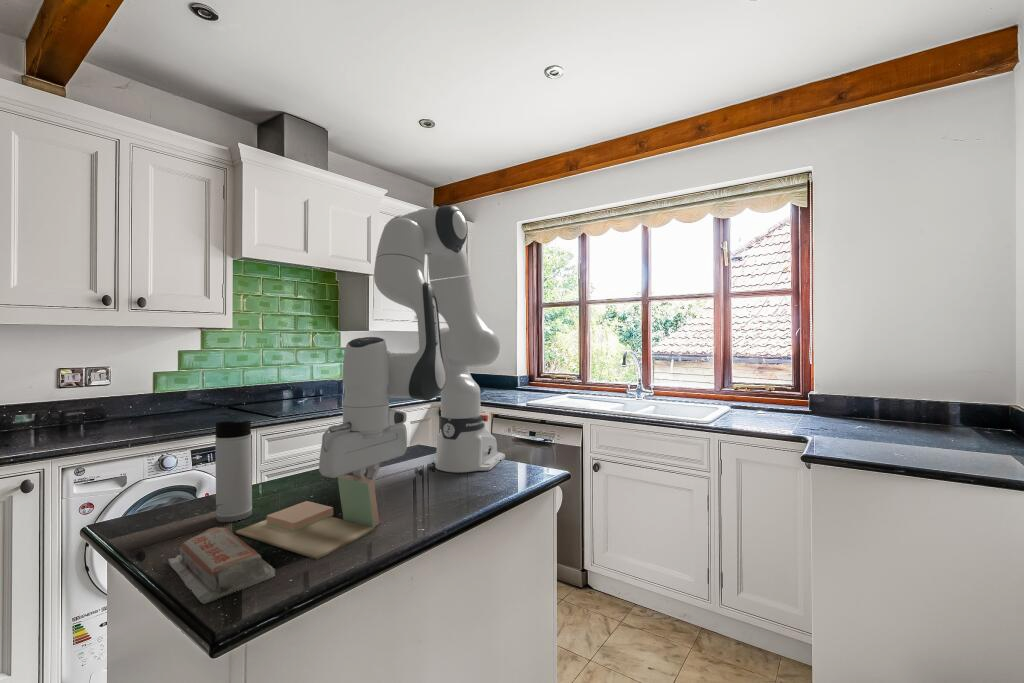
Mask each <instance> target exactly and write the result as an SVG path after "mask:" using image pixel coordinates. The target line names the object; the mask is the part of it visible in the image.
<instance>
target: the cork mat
mask: <svg viewBox="0 0 1024 683" xmlns="http://www.w3.org/2000/svg"><path fill="white" fill-rule="evenodd" d="M375 529H376V527H374V528H373V527H369V526H365V525H361V524H357V523H353V522H349V521H345V520H343V519H341V518H337V517H334V516H330V517H328V518H326V519H323V520H321V521H319V522H316V523H314V524H311V525H309V526H307V527H304V528H302V529H300V530H297V531H295V532H293V531H289V530H286V529H283V528H279V527H276V526H272V525H269V524H267V519H264V520H261V521H259V522H256V523H253V524H251V525H248V526H245V527H243V528H240V529H238V530H236V531H235V534H237V535H241V536H244V537H247V538H250V539H253V540H255V541H259V542H262V543H265V544H267V545H271V546H274V547H277V548H280V549H283V550H286V551H290V552H292V553H295V554H298V555H299V554H300V555H302V556H305V557H308V558H310V559H314V558H315V559H314V560H318V559H320V558H323V557H324V556H326V555H328V554H331V553H332V552H335V551H337V550H338V549H340V548H342V547H344V546H346V545H349V544H350V543H352V542H354V541H356V540H357V539H359V538H362V537H363V536H366V535H368V534H370V533H371V532H374V531H375Z"/></svg>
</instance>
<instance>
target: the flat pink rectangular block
mask: <svg viewBox="0 0 1024 683" xmlns="http://www.w3.org/2000/svg"><path fill="white" fill-rule="evenodd" d="M328 517H334V507H333V506H329V505H325V504H320V503H316V502H313V501H308V500H306V501H303V502H300V503H296V504H294V505H292V506H289V507H286V508H284V509H280V510H279V511H275V512H273V513H270V514H267V515H266V520H267V524H269V525H272V526H276V527H279V528H283V529H286V530H289V531H293V532H295V531H297V530H300V529H302V528H304V527H307V526H309V525H311V524H314V523H316V522H319V521H321V520H323V519H326V518H328Z"/></svg>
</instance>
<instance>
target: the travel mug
mask: <svg viewBox="0 0 1024 683" xmlns="http://www.w3.org/2000/svg"><path fill="white" fill-rule="evenodd" d="M251 429H252V420H243V421H235V420H222V421H217V422H216V421H215V437H214V439H215V448H214V450H215V512H216V514H215V518H216V521H217V522H219V523H225V522H226V523H235V522H239V521H238V520H240V521H243V520H245V519H247V518H249V517H250V516H252V514H253V489H252V488H253V482H252V481H253V479H252V478H253V475H252V471H253V470H252V463H253V462H252V437H251V436H252V430H251ZM242 519H243V520H242ZM234 521H235V522H234Z"/></svg>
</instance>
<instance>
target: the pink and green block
mask: <svg viewBox="0 0 1024 683" xmlns="http://www.w3.org/2000/svg"><path fill="white" fill-rule="evenodd" d="M365 478H366V477H365ZM365 478H360V477H355V476H354V475H349V474H345V475H342V476H339V477H337V483H338V490H339V496H340V497H339V498H340V505H341V506H340V507H341V512H342V518H343V519H342V520H345V521H349V522H353V523H357V524H361V525H365V526H369V527H373V528H376V527H377V526H379V524H380V519H379V512H378V511H379V510H378V504H377V503H378V502H377V496H376V487H375V486H374V480H371V479H365Z"/></svg>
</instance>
